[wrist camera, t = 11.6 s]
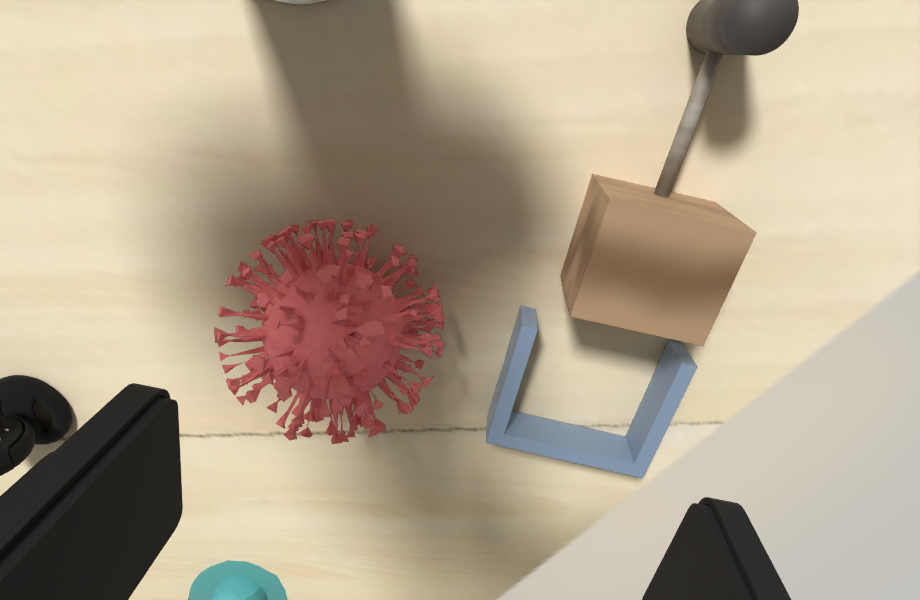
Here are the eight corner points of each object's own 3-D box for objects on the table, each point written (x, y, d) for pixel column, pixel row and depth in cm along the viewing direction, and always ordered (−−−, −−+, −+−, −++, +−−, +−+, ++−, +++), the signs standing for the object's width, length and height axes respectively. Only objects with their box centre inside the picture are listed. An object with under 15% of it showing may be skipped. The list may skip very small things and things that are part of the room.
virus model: (379, 156, 39) (313, 214, 25) (487, 315, 44) (479, 435, 30) (231, 256, 43) (107, 351, 30) (344, 392, 48) (282, 526, 34)
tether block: (673, 300, 42) (703, 346, 36) (560, 275, 42) (570, 316, 35) (796, 10, 33) (865, 1, 27) (654, -24, 33) (690, -40, 27)
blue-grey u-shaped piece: (633, 449, 48) (643, 478, 45) (487, 416, 48) (486, 442, 45) (683, 343, 43) (697, 366, 40) (520, 305, 43) (522, 326, 40)
